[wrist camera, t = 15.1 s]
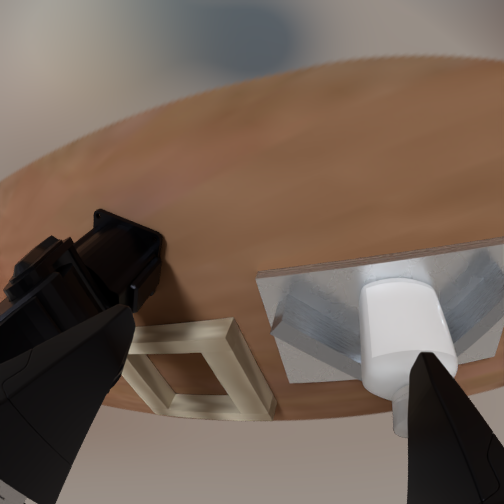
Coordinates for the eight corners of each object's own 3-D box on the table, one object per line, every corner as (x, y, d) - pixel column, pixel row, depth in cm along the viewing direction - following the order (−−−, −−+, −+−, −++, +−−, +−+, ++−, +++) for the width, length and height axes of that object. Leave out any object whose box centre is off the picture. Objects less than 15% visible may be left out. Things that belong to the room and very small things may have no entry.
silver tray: (258, 271, 24) (245, 305, 20) (514, 234, 17) (539, 263, 14) (291, 375, 29) (284, 408, 25) (491, 348, 22) (502, 380, 19)
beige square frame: (163, 399, 37) (155, 414, 35) (109, 328, 32) (97, 343, 30) (277, 402, 32) (272, 420, 29) (233, 317, 26) (225, 337, 24)
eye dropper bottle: (384, 255, 20) (412, 417, 9) (442, 291, 20) (486, 437, 10) (348, 300, 22) (344, 457, 12) (405, 330, 22) (422, 473, 12)
